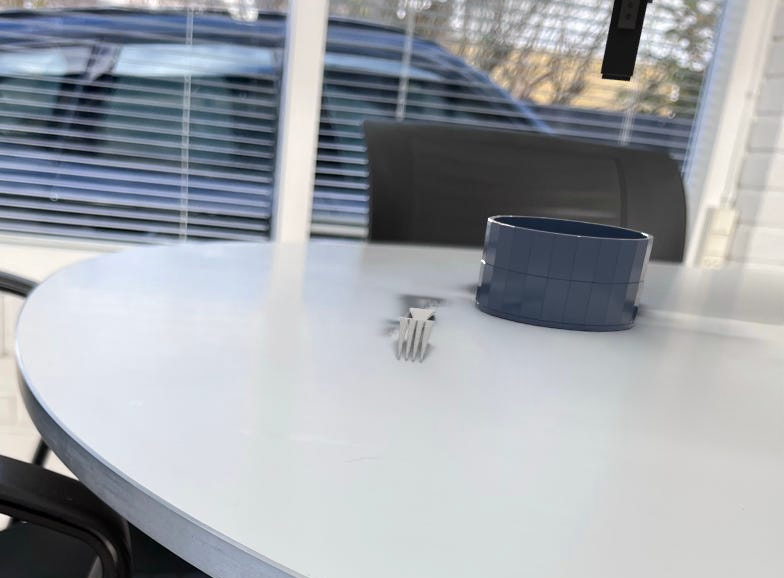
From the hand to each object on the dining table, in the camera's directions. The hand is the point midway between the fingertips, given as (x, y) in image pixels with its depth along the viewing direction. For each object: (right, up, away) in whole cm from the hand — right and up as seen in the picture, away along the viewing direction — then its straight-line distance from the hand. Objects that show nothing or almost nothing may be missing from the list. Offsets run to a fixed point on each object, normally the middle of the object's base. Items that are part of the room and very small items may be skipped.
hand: (615, 78), depth 96 cm
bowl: (-4, -19, +8) cm, 21 cm away
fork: (-19, -26, -7) cm, 33 cm away
